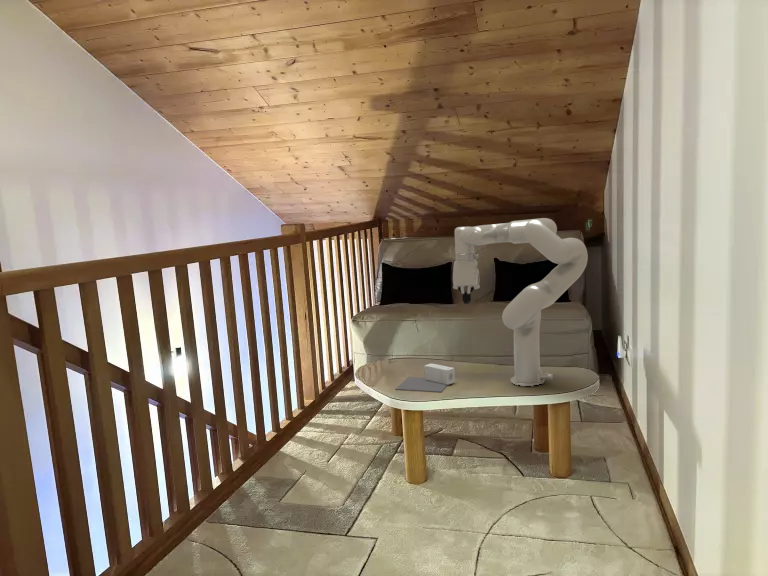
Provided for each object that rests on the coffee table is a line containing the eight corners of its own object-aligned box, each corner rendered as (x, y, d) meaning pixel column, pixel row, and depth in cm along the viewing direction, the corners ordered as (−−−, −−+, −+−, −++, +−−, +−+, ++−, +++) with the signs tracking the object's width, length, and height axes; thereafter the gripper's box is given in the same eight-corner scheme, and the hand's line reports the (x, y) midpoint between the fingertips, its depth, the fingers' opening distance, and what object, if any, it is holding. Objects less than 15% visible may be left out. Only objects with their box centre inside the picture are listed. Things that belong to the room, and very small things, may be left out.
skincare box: (454, 367, 223) (431, 362, 232) (447, 370, 220) (423, 364, 229) (455, 383, 224) (431, 377, 233) (447, 385, 221) (424, 379, 230)
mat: (451, 379, 229) (451, 378, 229) (441, 392, 214) (441, 391, 214) (408, 377, 235) (408, 376, 235) (395, 389, 220) (395, 388, 220)
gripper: (485, 256, 231) (487, 301, 233) (449, 257, 236) (451, 301, 239) (482, 258, 224) (483, 304, 226) (444, 259, 229) (446, 304, 232)
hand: (466, 303), depth 232 cm, fingers closed
